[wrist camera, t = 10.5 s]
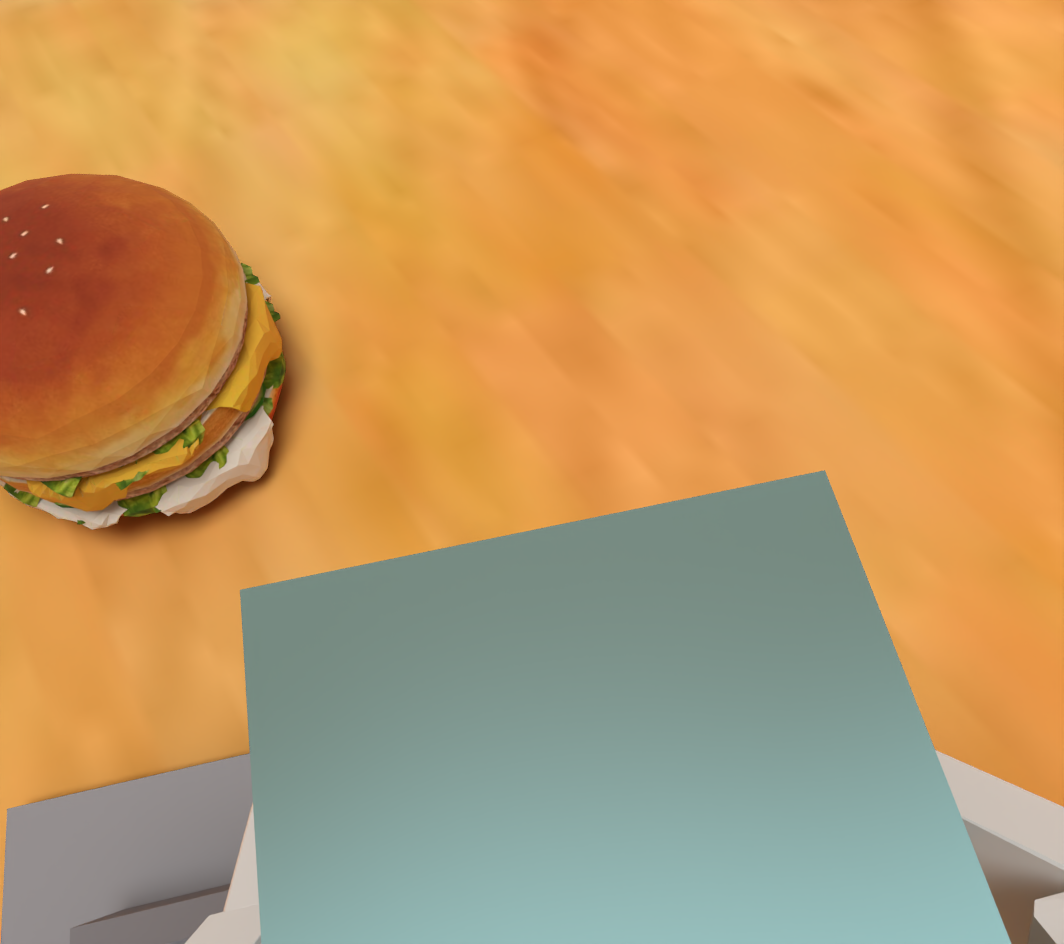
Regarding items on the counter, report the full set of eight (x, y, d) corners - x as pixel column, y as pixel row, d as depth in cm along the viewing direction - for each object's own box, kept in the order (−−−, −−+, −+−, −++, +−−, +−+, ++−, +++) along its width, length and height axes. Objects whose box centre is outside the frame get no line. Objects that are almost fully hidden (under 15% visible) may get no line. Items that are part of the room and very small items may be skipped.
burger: (172, 235, 36) (46, 54, 27) (374, 376, 33) (309, 227, 24) (-52, 429, 32) (-290, 296, 23) (153, 610, 29) (-27, 540, 20)
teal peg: (685, 879, 14) (1120, 1217, 3) (477, 930, 13) (291, 1460, 3) (630, 667, 15) (823, 470, 5) (443, 709, 15) (240, 590, 5)
